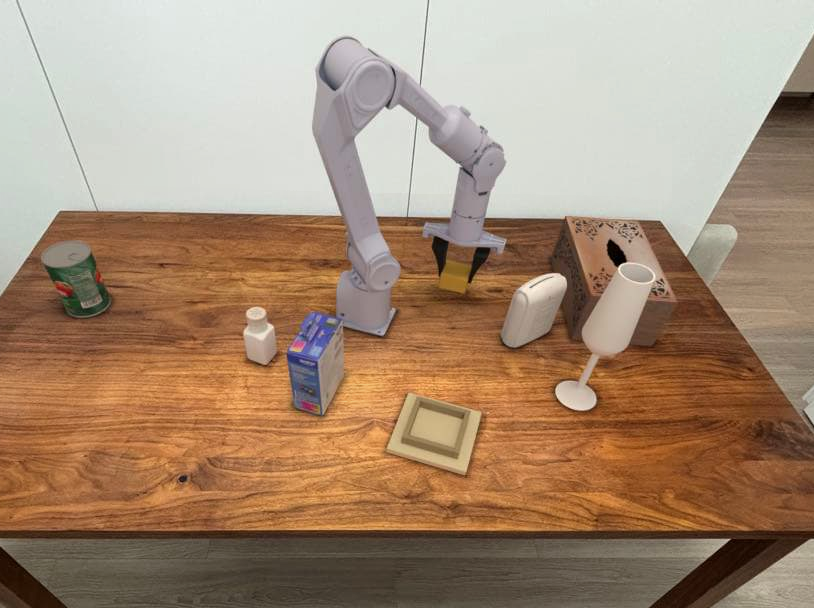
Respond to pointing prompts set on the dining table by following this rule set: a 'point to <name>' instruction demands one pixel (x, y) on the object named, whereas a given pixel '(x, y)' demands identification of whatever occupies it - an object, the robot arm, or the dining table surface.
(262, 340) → the pepper shaker
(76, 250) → the canned tomato
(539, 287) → the photo printer
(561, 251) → the tissue box cover
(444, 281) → the mustard block
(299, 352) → the ink cartridge box
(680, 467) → the dining table surface
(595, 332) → the champagne flute
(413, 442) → the base pad
